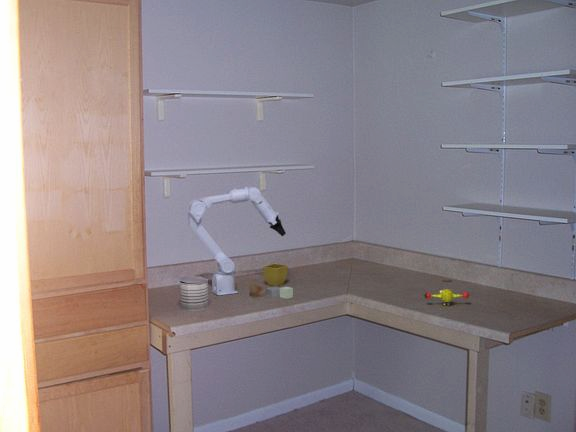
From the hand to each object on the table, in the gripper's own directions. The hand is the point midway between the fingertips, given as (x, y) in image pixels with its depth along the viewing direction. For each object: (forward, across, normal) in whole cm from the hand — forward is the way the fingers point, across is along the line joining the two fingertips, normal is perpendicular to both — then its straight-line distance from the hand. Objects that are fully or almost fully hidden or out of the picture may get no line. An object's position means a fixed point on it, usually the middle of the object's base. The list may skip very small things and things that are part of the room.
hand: (283, 232), depth 284 cm
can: (-5, -29, +46) cm, 54 cm away
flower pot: (+20, +6, +18) cm, 27 cm away
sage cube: (+19, -18, +15) cm, 30 cm away
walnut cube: (+12, -14, +25) cm, 31 cm away
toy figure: (+54, -43, -36) cm, 78 cm away
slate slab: (+17, -13, +19) cm, 29 cm away
